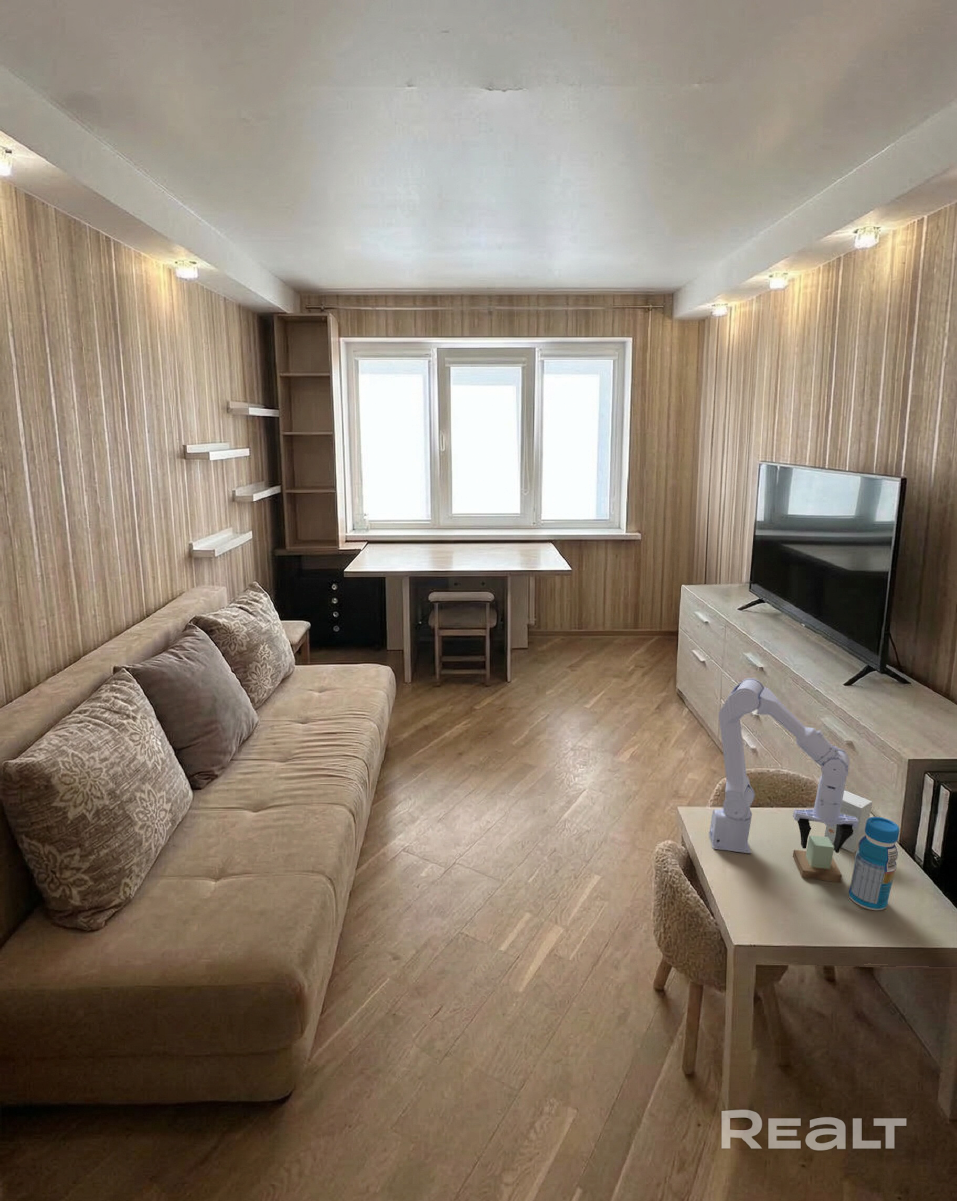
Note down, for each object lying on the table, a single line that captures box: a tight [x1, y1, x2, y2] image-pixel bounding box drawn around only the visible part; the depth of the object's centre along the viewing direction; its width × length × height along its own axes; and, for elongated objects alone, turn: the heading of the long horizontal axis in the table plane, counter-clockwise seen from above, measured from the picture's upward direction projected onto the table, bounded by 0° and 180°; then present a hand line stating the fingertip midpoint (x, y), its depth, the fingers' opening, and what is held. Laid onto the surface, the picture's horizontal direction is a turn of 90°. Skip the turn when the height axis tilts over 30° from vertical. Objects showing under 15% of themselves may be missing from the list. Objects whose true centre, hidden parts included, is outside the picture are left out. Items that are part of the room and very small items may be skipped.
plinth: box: [792, 849, 843, 883], centre depth 188 cm, size 9×9×2 cm
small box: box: [823, 790, 873, 853], centre depth 200 cm, size 8×6×13 cm
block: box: [805, 834, 835, 869], centre depth 187 cm, size 4×4×6 cm
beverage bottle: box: [848, 816, 900, 911], centre depth 175 cm, size 8×8×20 cm
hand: (819, 848), depth 187 cm, fingers open, 7 cm apart
